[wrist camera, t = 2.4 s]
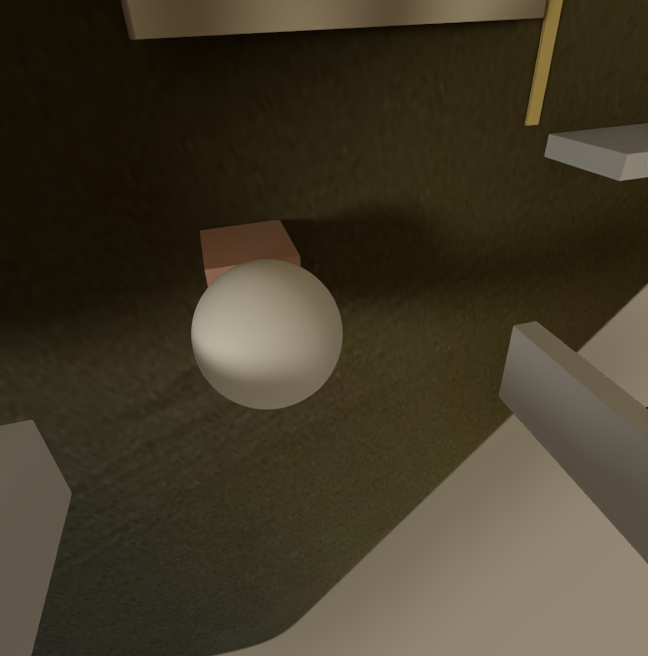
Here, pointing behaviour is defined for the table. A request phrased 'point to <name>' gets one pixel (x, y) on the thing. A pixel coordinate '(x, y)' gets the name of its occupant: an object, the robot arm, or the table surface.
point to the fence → (604, 150)
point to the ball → (266, 334)
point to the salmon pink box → (245, 246)
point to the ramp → (308, 15)
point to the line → (543, 61)
